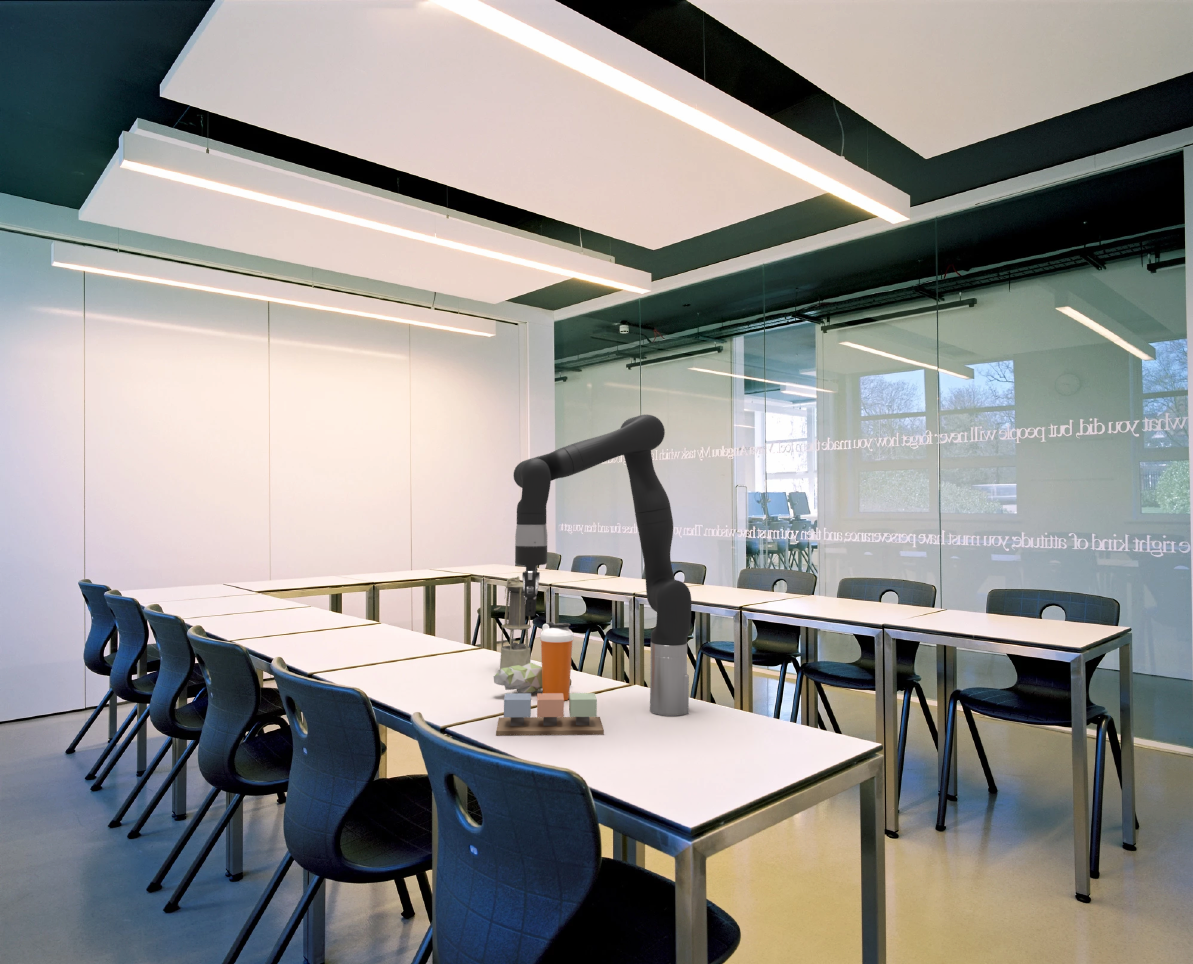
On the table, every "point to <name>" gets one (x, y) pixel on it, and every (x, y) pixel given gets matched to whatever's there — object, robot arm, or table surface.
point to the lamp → (515, 626)
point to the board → (549, 726)
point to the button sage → (582, 705)
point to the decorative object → (521, 678)
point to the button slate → (517, 705)
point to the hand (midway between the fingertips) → (530, 613)
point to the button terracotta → (550, 705)
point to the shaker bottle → (556, 658)
